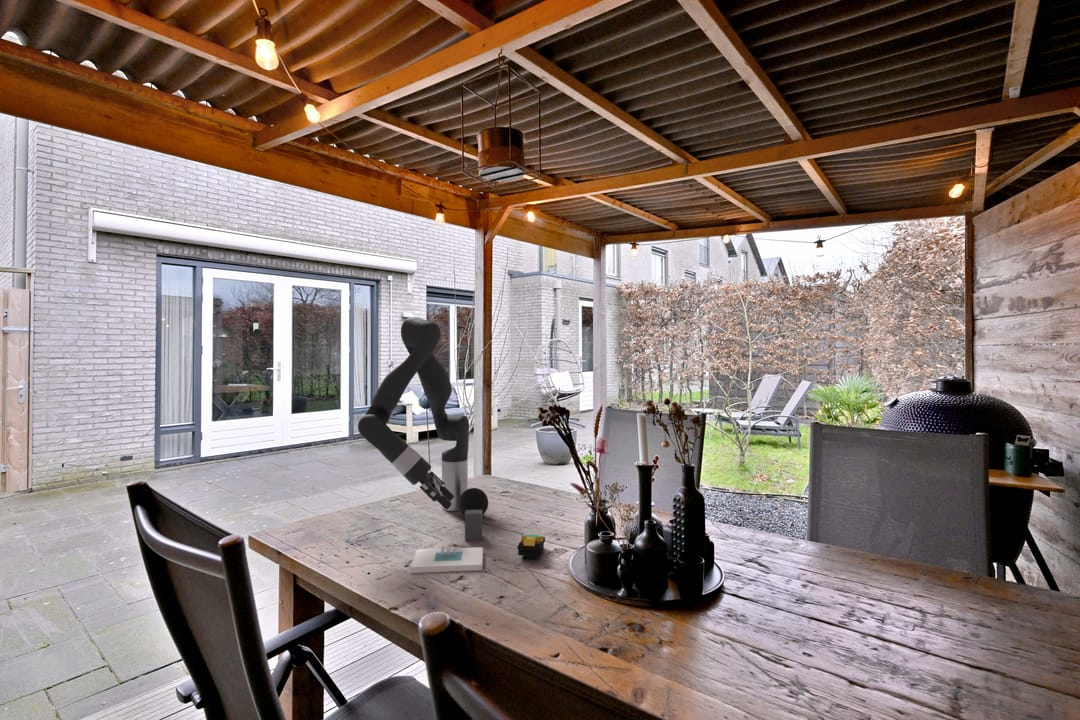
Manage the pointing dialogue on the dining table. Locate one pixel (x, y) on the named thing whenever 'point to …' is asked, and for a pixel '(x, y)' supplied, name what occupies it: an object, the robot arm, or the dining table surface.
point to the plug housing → (473, 525)
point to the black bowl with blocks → (531, 545)
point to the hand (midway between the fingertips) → (450, 502)
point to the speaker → (473, 500)
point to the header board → (447, 560)
